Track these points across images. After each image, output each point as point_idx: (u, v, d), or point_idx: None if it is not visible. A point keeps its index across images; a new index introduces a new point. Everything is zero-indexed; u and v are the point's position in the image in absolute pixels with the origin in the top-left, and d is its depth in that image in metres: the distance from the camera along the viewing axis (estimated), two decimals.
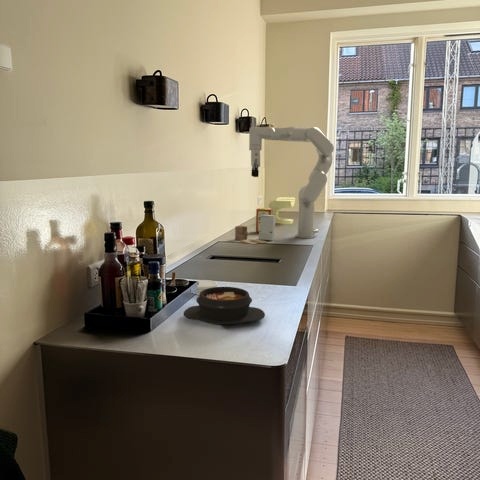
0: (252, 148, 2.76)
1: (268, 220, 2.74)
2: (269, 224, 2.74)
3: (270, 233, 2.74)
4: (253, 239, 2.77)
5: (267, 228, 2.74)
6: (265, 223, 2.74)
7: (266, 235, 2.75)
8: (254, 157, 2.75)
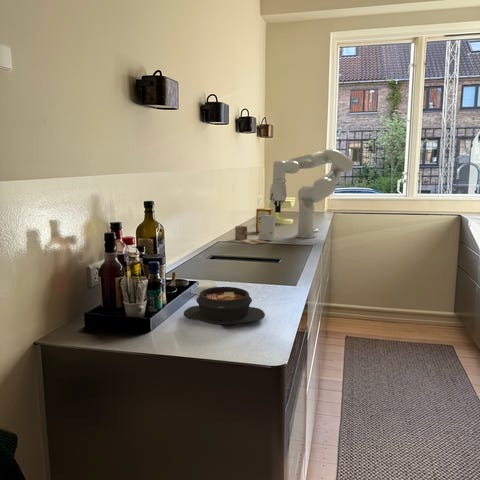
0: None
1: (268, 220, 2.73)
2: (269, 224, 2.73)
3: (270, 233, 2.74)
4: (253, 239, 2.77)
5: (267, 228, 2.74)
6: (265, 223, 2.74)
7: (266, 235, 2.75)
8: None
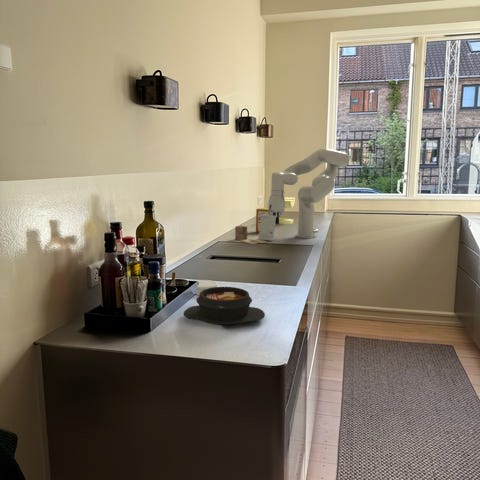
0: None
1: (268, 220, 2.73)
2: (269, 224, 2.73)
3: (270, 233, 2.74)
4: (253, 239, 2.77)
5: (267, 228, 2.74)
6: (265, 223, 2.74)
7: (266, 235, 2.75)
8: None
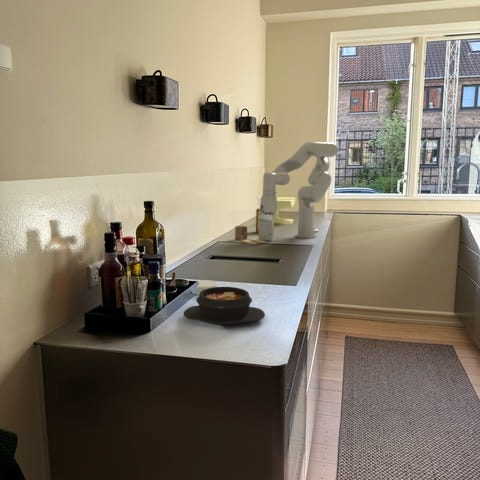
0: None
1: (266, 223, 2.68)
2: (268, 227, 2.69)
3: (269, 235, 2.72)
4: (253, 239, 2.77)
5: (266, 230, 2.71)
6: (264, 226, 2.70)
7: (266, 236, 2.73)
8: None
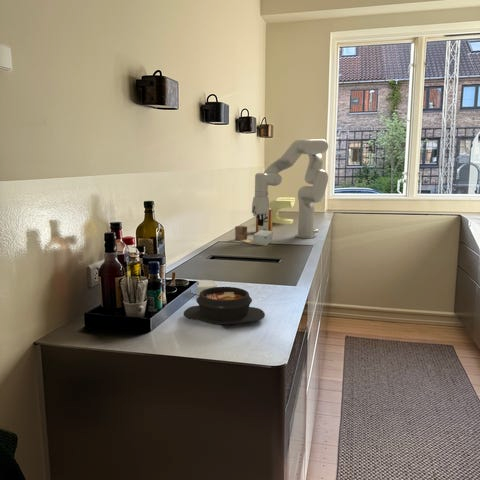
0: (267, 195, 2.70)
1: None
2: None
3: None
4: None
5: None
6: None
7: None
8: None
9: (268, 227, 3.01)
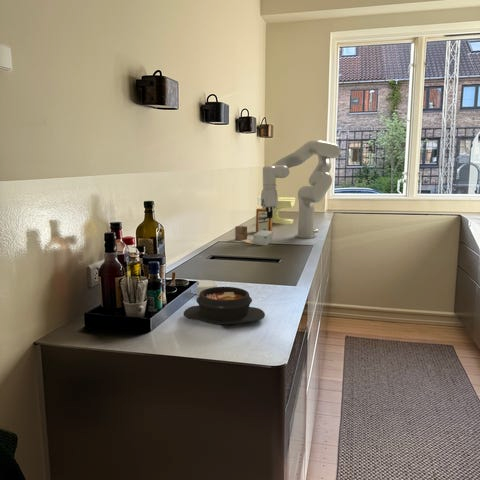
0: (275, 187, 2.73)
1: None
2: None
3: None
4: None
5: None
6: None
7: None
8: None
9: (268, 227, 3.01)
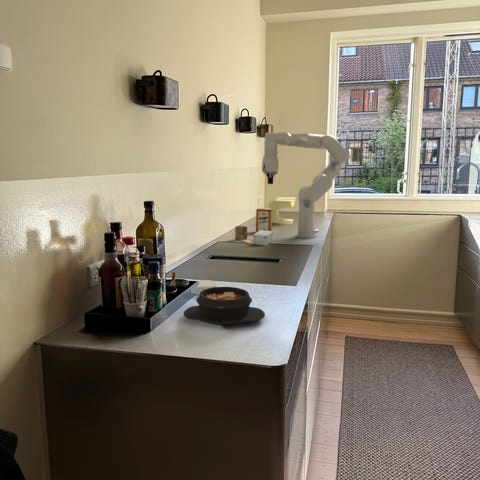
0: None
1: None
2: None
3: None
4: None
5: None
6: None
7: None
8: None
9: (268, 227, 3.01)
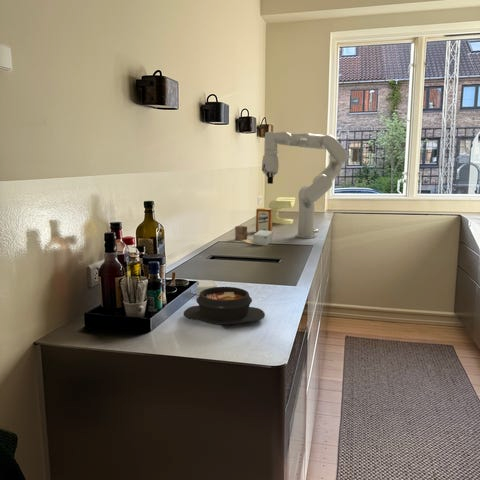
0: (276, 153, 2.79)
1: None
2: None
3: None
4: None
5: None
6: None
7: None
8: None
9: (268, 227, 3.01)
